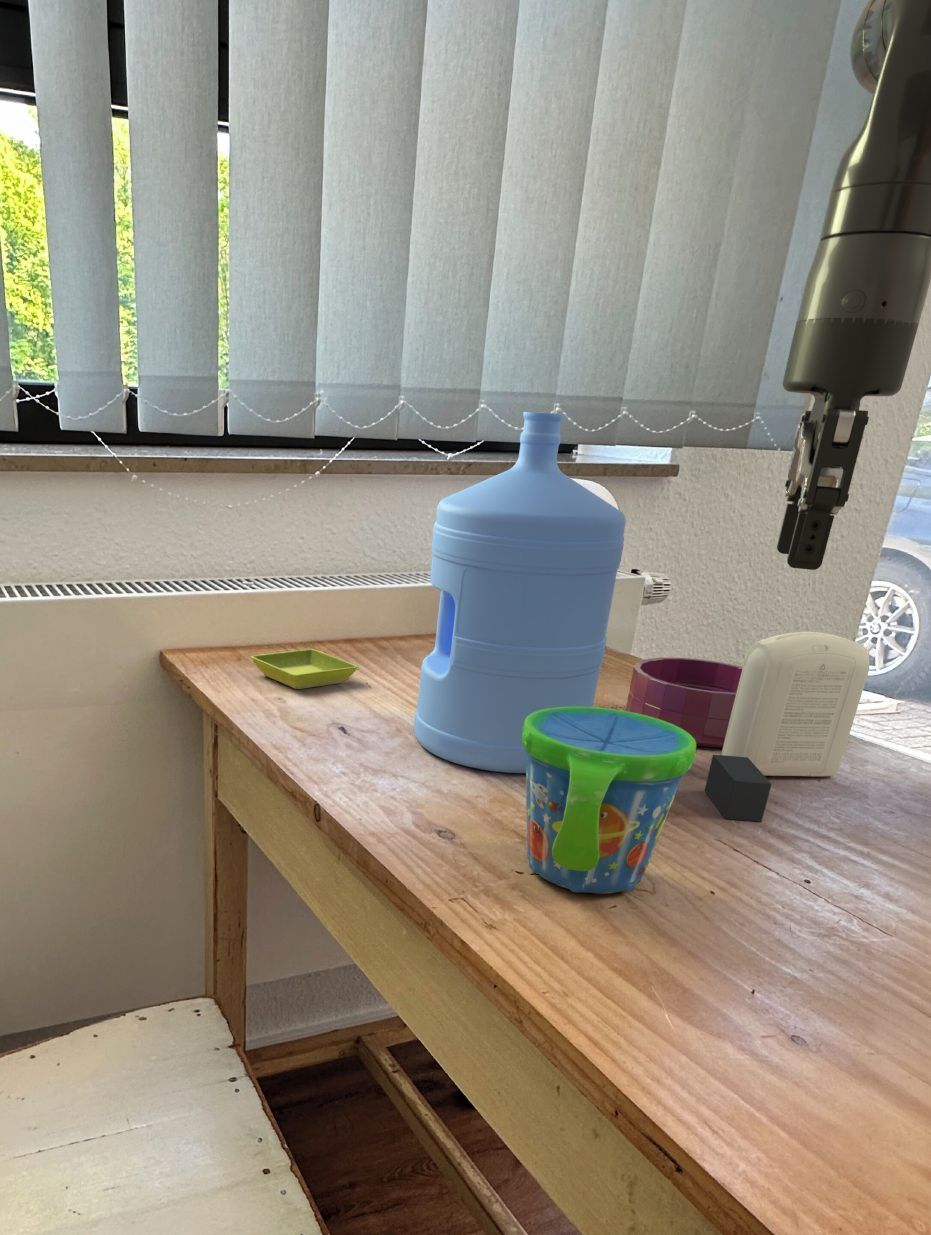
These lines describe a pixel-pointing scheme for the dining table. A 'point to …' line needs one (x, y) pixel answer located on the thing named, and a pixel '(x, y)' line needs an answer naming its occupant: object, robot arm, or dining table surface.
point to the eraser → (737, 788)
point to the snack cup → (599, 793)
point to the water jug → (516, 604)
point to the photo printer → (797, 703)
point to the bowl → (686, 695)
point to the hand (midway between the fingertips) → (796, 560)
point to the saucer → (304, 668)
